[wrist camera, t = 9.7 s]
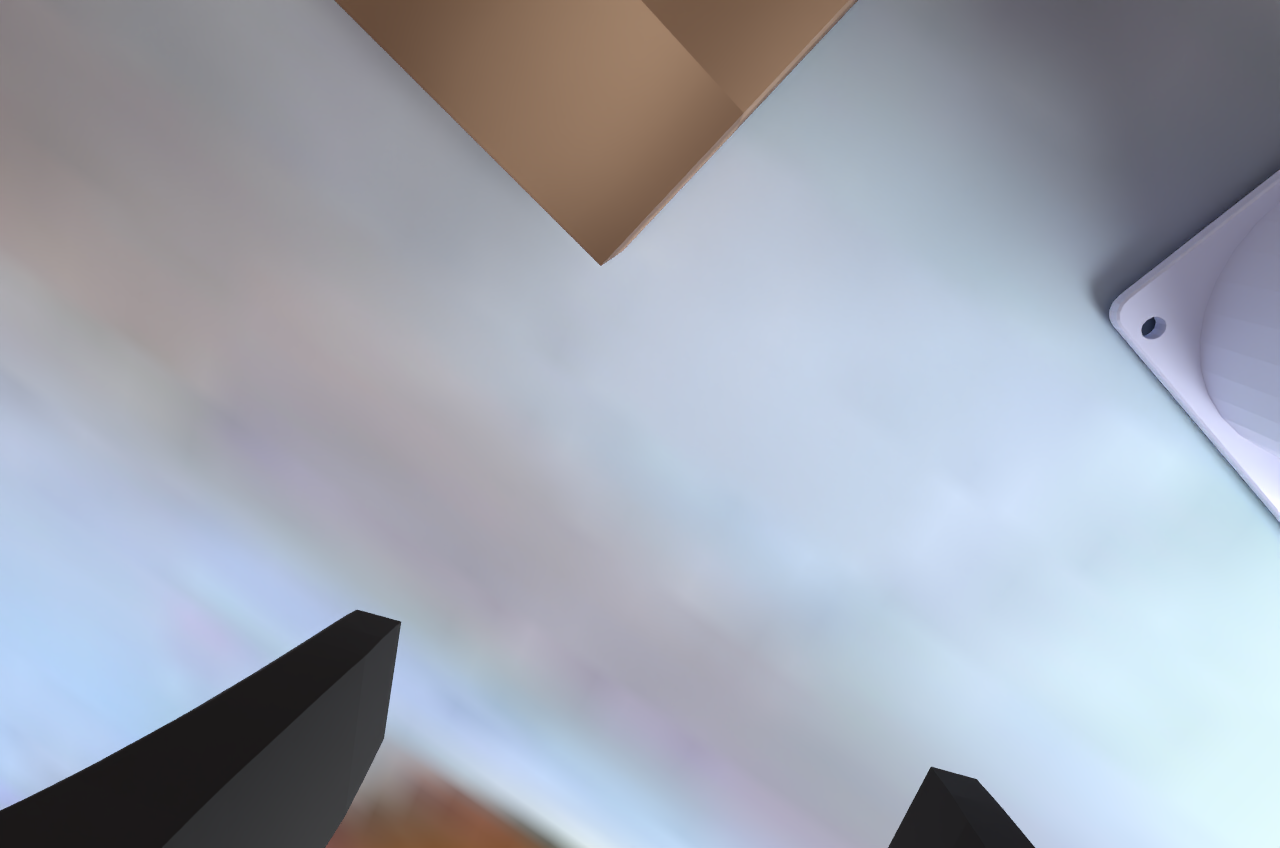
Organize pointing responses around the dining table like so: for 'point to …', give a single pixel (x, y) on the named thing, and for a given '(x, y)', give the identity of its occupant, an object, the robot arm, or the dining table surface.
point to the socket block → (599, 89)
